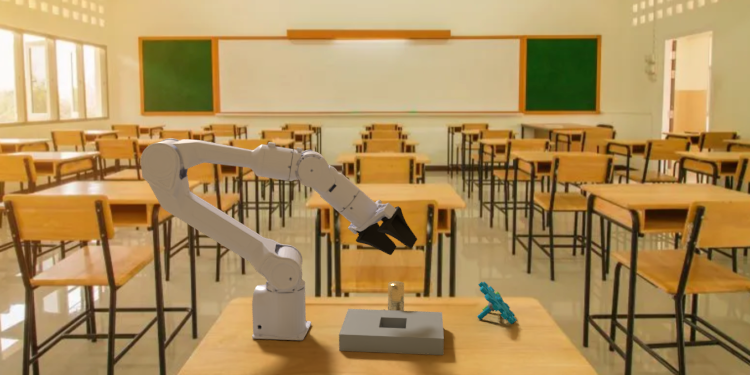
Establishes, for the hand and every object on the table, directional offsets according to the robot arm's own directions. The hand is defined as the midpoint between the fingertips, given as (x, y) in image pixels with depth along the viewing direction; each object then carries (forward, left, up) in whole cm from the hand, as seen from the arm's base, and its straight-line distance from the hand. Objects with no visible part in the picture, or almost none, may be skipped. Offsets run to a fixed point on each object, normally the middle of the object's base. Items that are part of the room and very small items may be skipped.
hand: (403, 247), depth 110 cm
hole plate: (-1, -6, -16) cm, 17 cm away
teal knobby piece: (+18, +6, -16) cm, 25 cm away
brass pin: (-1, +4, -16) cm, 16 cm away
